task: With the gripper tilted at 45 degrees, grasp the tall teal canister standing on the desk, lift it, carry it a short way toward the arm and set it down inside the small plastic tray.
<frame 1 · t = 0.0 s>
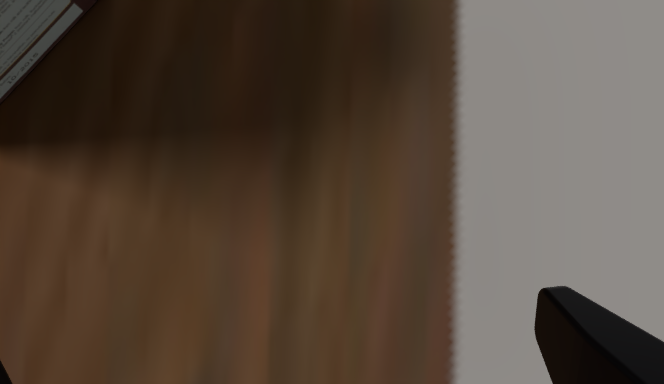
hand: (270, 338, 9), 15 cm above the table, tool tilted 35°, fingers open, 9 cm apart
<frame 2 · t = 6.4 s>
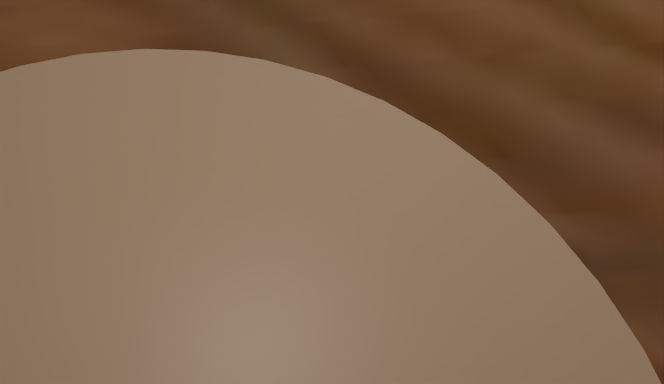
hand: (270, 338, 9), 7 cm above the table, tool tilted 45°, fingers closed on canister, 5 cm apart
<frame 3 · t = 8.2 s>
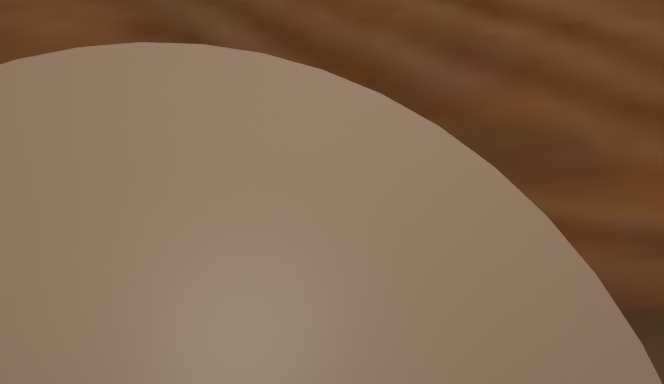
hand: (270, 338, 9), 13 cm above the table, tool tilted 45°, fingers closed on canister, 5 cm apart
when the fingers open (8 cm above the table, at t = 10.1 s): canister drops 1 cm, resting on tray.
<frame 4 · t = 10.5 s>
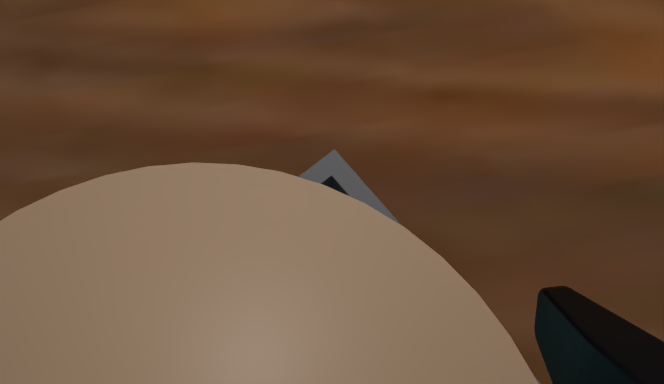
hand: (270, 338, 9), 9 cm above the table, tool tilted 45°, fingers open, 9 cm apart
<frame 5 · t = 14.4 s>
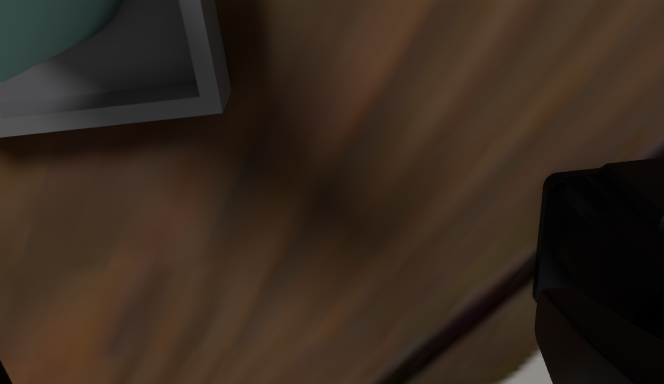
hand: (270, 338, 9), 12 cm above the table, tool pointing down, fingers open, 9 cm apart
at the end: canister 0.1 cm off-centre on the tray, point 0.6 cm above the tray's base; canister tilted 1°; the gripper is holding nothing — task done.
